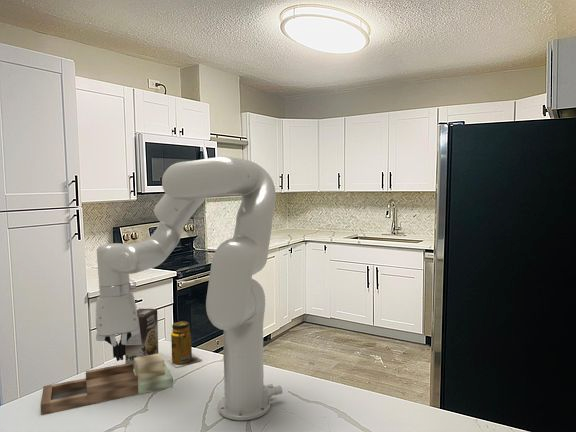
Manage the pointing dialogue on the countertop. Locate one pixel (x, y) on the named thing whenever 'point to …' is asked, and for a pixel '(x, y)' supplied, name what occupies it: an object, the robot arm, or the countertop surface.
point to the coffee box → (143, 336)
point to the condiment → (182, 345)
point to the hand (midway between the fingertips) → (119, 358)
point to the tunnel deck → (100, 388)
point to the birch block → (149, 366)
